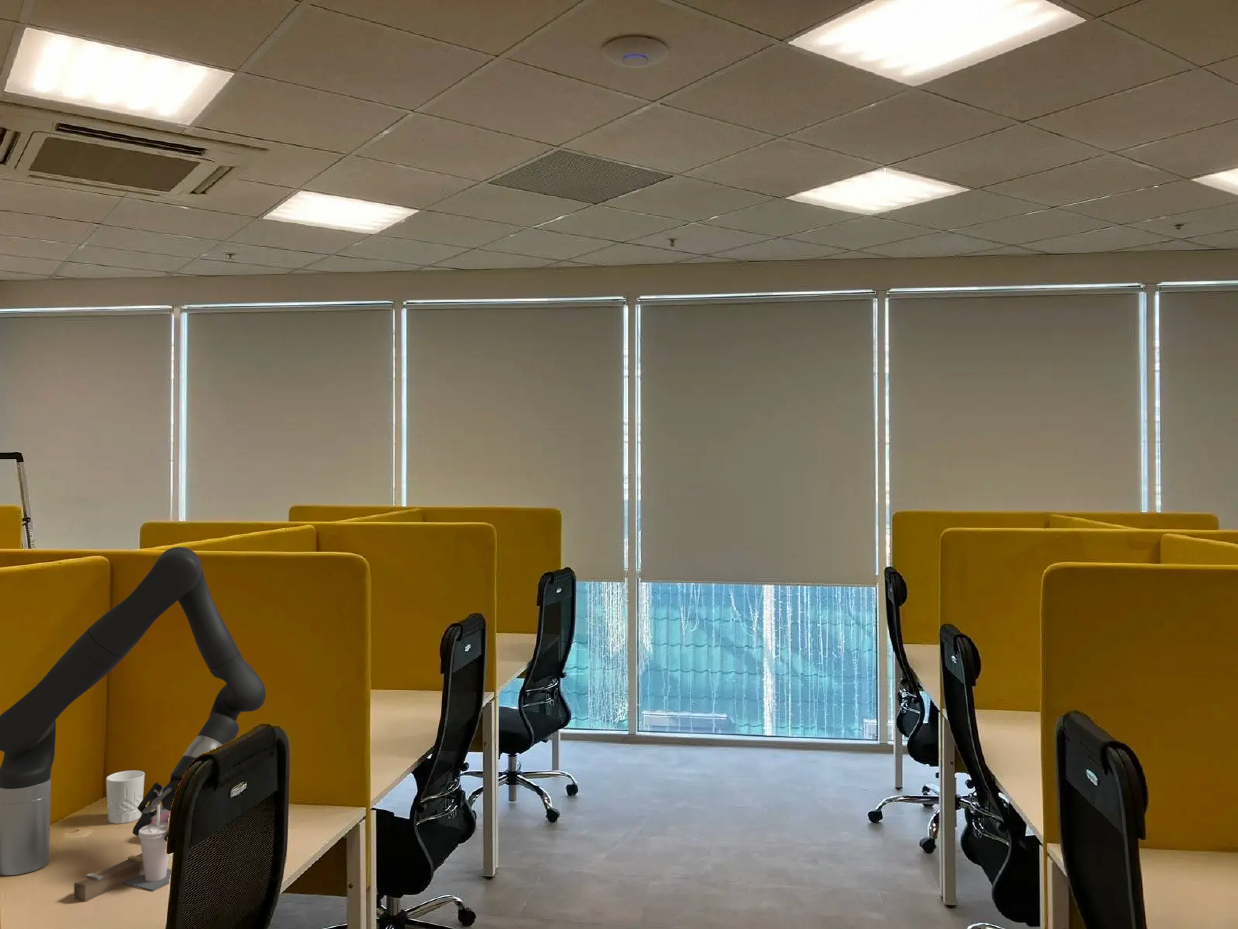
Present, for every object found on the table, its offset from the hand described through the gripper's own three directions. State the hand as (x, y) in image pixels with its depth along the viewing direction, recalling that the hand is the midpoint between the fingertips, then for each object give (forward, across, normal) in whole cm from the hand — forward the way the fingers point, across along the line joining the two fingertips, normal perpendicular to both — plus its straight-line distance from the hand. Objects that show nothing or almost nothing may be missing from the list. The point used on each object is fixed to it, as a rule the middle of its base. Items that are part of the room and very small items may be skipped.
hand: (151, 838), depth 178 cm
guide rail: (+8, -6, +4) cm, 11 cm away
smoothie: (+5, 0, +7) cm, 8 cm away
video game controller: (-7, -16, +19) cm, 26 cm away
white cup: (-9, -34, +22) cm, 41 cm away
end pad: (+5, 0, +7) cm, 8 cm away
